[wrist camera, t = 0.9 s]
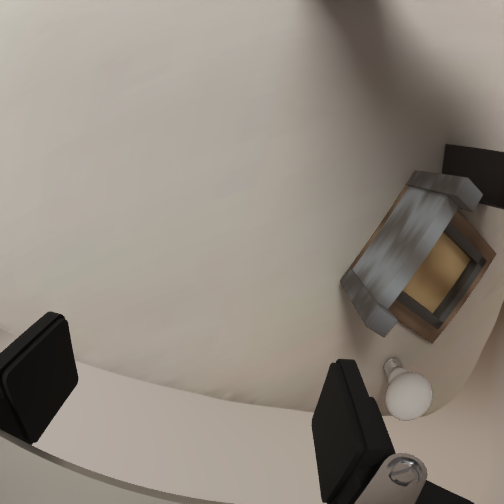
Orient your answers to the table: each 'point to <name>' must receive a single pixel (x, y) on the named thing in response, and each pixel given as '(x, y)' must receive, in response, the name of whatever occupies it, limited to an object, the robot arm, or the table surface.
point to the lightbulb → (406, 392)
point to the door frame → (420, 258)
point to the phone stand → (478, 171)
